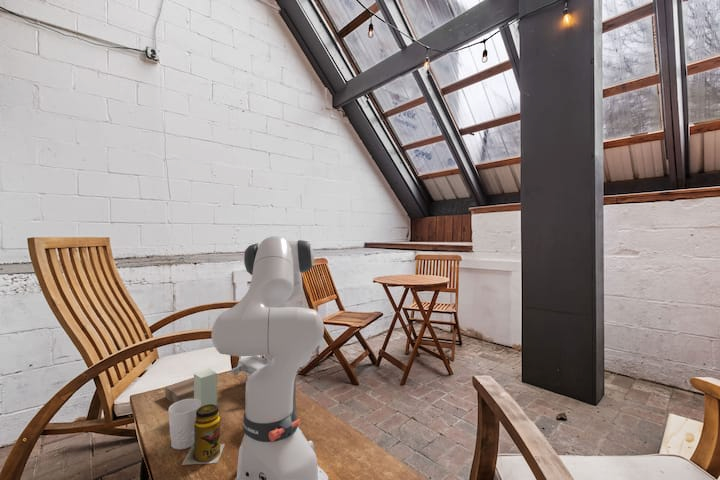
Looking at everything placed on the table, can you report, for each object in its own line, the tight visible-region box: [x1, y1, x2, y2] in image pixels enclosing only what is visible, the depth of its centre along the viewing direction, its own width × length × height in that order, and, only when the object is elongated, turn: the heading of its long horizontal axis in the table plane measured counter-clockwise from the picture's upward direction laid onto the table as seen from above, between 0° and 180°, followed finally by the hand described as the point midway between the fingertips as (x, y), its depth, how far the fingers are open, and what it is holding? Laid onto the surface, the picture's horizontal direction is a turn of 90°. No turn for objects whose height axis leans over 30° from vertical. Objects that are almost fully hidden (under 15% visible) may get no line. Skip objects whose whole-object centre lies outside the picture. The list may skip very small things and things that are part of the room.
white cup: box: [168, 399, 201, 451], centre depth 92 cm, size 8×8×10 cm
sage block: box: [193, 368, 218, 407], centre depth 108 cm, size 5×5×12 cm
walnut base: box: [164, 377, 194, 404], centre depth 118 cm, size 10×10×4 cm
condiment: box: [181, 404, 226, 466], centre depth 87 cm, size 7×8×12 cm
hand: (239, 375), depth 117 cm, fingers open, 8 cm apart
